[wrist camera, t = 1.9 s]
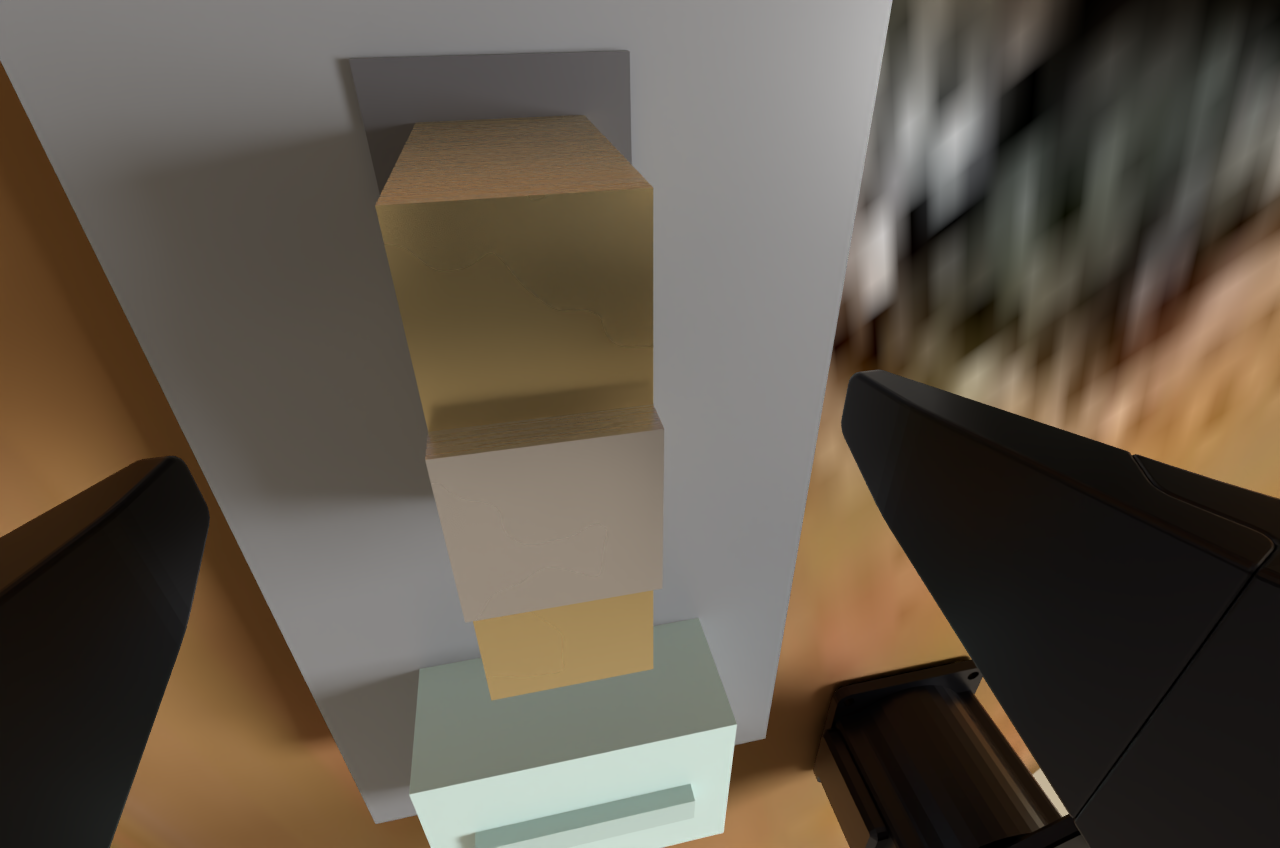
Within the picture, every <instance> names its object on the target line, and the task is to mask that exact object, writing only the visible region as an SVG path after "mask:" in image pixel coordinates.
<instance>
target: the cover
mask: <svg viewBox="0 0 1280 848" xmlns="http://www.w3.org/2000/svg"><path fill="white" fill-rule="evenodd" d="M736 729H737V723H736V720H735V717H734V714H733V712H732V709H731V706H730V703H729V701H728V698H727V695H726V692H725V690H724V687H723V684H722V681H721V678H720V676H719V673H718V670H717V667H716V665H715V662H714V659H713V656H712V654H711V651H710V648H709V645H708V642H707V640H706V637H705V634H704V631H703V629H702V626H701V623H700V620H699V618H696V619H690V620H685V621H679V622H674V623H668V624H663V625H657V626H653V669H651V670H646V671H641V672H636V673H631V674H626V675H620V676H615V677H610V678H605V679H600V680H595V681H590V682H584V683H579V684H574V685H569V686H564V687H559V688H554V689H549V690H543V691H538V692H533V693H528V694H523V695H518V696H513V697H507V698H502V699H497V700H492V701H491V696H490V692H489V688H488V684H487V679H486V675H485V671H484V667H483V662H482V658H477V659H472V660H466V661H461V662H455V663H450V664H444V665H439V666H433V667H428V668H422V669H420V671H419V683H418V694H417V706H416V718H415V730H414V742H413V754H412V766H411V778H410V790H409V796H410V798H411V800H412V803H413V805H414V808H415V810H416V813H417V815H418V817H419V820H420V822H421V825H422V827H423V830H424V832H425V834H426V837H427V839H428V842H429V844H430V847H431V848H662V847H666V846H670V845H675V844H679V843H683V842H687V841H691V840H695V839H699V838H703V837H707V836H712V835H716V834H720V833H723V832H724V824H725V816H726V808H727V800H728V792H729V784H730V776H731V768H732V761H733V753H734V745H735V737H736Z"/></svg>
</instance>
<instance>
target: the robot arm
mask: <svg viewBox="0 0 1280 848" xmlns="http://www.w3.org/2000/svg"><path fill="white" fill-rule="evenodd" d="M841 426H842V432H843V435H844V438H845V440H846V442H847V444H848V446H849V448H850V451H851V453H852V455H853V457H854V459H855V461H856V463H857V465H858V467H859V469H860V471H861V473H862V476H863V478H864V480H865V482H866V484H867V486H868V488H869V490H870V492H871V494H872V496H873V498H874V501H875V503H876V505H877V506H878V508H879V510H880V512H881V514H882V516H883V518H884V519H885V521H886V523H887V524H888V526H889V528H890V530H891V531H892V533H893V534H894V536H895V538H896V539H897V541H898V542H899V544H900V546H901V547H902V549H903V550H904V552H905V553H906V555H907V557H908V558H909V560H910V561H911V563H912V565H913V566H914V568H915V569H916V571H917V573H918V574H919V576H920V577H921V579H922V581H923V582H924V584H925V585H926V587H927V588H928V590H929V592H930V593H931V595H932V596H933V598H934V600H935V601H936V603H937V604H938V606H939V608H940V609H941V611H942V612H943V614H944V616H945V617H946V619H947V620H948V622H949V623H950V625H951V627H952V628H953V630H954V631H955V633H956V635H957V636H958V638H959V639H960V641H961V643H962V644H963V646H964V647H965V649H966V651H967V652H968V654H969V655H970V657H971V658H972V660H967V661H962V662H957V663H953V664H948V665H943V666H938V667H934V668H929V669H924V670H919V671H915V672H910V673H905V674H900V675H895V676H891V677H886V678H881V679H876V680H872V681H867V682H862V683H857V684H853V685H848V686H844V687H841V688H840V689H838V690H837V691H836V692H834V694H833V696H832V700H831V704H830V707H829V711H828V715H827V719H826V723H825V727H824V731H823V734H822V738H821V742H820V746H819V750H818V754H817V757H816V761H815V765H814V769H813V771H814V774H815V776H816V779H817V781H818V782H821V783H822V786H823V788H824V790H825V792H826V795H827V797H828V799H829V801H830V804H831V806H832V808H833V810H834V813H835V815H836V817H837V819H838V822H839V824H840V826H841V829H842V831H843V833H844V835H845V838H846V840H847V842H848V844H849V847H850V848H1280V499H1279V498H1275V497H1272V496H1268V495H1265V494H1262V493H1258V492H1255V491H1252V490H1248V489H1245V488H1241V487H1238V486H1235V485H1231V484H1228V483H1225V482H1221V481H1218V480H1215V479H1212V478H1209V477H1205V476H1202V475H1199V474H1196V473H1193V472H1190V471H1187V470H1183V469H1180V468H1177V467H1174V466H1171V465H1168V464H1165V463H1162V462H1159V461H1156V460H1153V459H1150V458H1147V457H1144V456H1141V455H1137V454H1135V455H1131V454H1130V453H1129V452H1128V451H1125V450H1122V449H1119V448H1116V447H1113V446H1110V445H1107V444H1104V443H1101V442H1098V441H1095V440H1092V439H1089V438H1086V437H1083V436H1080V435H1077V434H1074V433H1071V432H1068V431H1065V430H1062V429H1059V428H1056V427H1052V426H1049V425H1046V424H1043V423H1040V422H1037V421H1034V420H1031V419H1028V418H1025V417H1022V416H1019V415H1016V414H1013V413H1010V412H1007V411H1004V410H1001V409H998V408H995V407H992V406H989V405H986V404H983V403H980V402H977V401H974V400H971V399H968V398H965V397H962V396H959V395H956V394H953V393H950V392H947V391H944V390H941V389H938V388H935V387H932V386H929V385H926V384H923V383H919V382H916V381H913V380H910V379H907V378H904V377H901V376H898V375H895V374H892V373H889V372H886V371H883V370H872V371H864V372H857V373H855V374H854V375H853V376H852V377H851V378H850V380H849V384H848V389H847V394H846V399H845V404H844V409H843V415H842V421H841ZM209 520H210V517H209V511H208V507H207V504H206V502H205V500H204V498H203V496H202V494H201V492H200V490H199V488H198V486H197V484H196V483H195V481H194V479H193V477H192V475H191V473H190V471H189V469H188V467H187V465H186V464H185V462H184V461H183V460H182V459H180V458H178V457H176V456H164V457H156V458H148V459H142V460H138V461H136V462H134V463H132V464H130V465H129V466H127V467H125V468H123V469H122V470H120V471H118V472H116V473H114V474H113V475H111V476H109V477H107V478H106V479H104V480H102V481H100V482H98V483H97V484H95V485H93V486H91V487H90V488H88V489H86V490H84V491H83V492H81V493H79V494H77V495H75V496H74V497H72V498H70V499H68V500H67V501H65V502H63V503H61V504H59V505H58V506H56V507H54V508H52V509H51V510H49V511H47V512H45V513H43V514H42V515H40V516H38V517H36V518H35V519H33V520H31V521H29V522H27V523H26V524H24V525H22V526H20V527H19V528H17V529H15V530H13V531H11V532H10V533H8V534H6V535H4V536H3V537H1V538H0V848H110V846H111V843H112V840H113V837H114V834H115V831H116V829H117V826H118V823H119V820H120V817H121V814H122V812H123V809H124V806H125V803H126V800H127V797H128V794H129V792H130V789H131V786H132V783H133V780H134V777H135V775H136V772H137V769H138V766H139V763H140V760H141V758H142V755H143V752H144V749H145V746H146V743H147V740H148V738H149V735H150V732H151V729H152V726H153V723H154V721H155V718H156V715H157V712H158V709H159V706H160V703H161V701H162V698H163V695H164V692H165V689H166V686H167V684H168V681H169V678H170V675H171V672H172V669H173V667H174V664H175V661H176V658H177V655H178V652H179V649H180V646H181V643H182V640H183V637H184V634H185V631H186V627H187V624H188V620H189V616H190V612H191V607H192V603H193V598H194V593H195V589H196V584H197V579H198V575H199V570H200V565H201V561H202V556H203V552H204V547H205V542H206V538H207V533H208V528H209ZM982 677H983V678H984V679H985V681H986V682H987V684H988V686H989V687H990V689H991V690H992V692H993V693H994V695H995V697H996V698H997V700H998V701H999V703H1000V705H1001V706H1002V708H1003V709H1004V711H1005V713H1006V714H1007V716H1008V717H1009V719H1010V721H1011V722H1012V724H1013V725H1014V727H1015V729H1016V730H1017V732H1018V733H1019V735H1020V736H1021V738H1022V740H1023V741H1024V743H1025V744H1026V746H1027V748H1028V749H1029V751H1030V752H1031V754H1032V756H1033V757H1034V759H1035V760H1036V762H1037V764H1038V765H1039V767H1040V768H1041V770H1042V771H1043V773H1044V774H1045V776H1046V778H1047V779H1048V781H1049V783H1050V784H1051V786H1052V787H1053V789H1054V791H1055V792H1056V794H1057V795H1058V797H1059V799H1060V800H1061V802H1062V803H1063V805H1064V806H1065V808H1066V810H1067V811H1068V813H1069V814H1068V815H1066V816H1064V817H1062V816H1061V814H1060V813H1059V812H1058V810H1057V809H1056V807H1055V806H1054V805H1053V803H1052V802H1051V801H1050V799H1049V798H1048V796H1047V795H1046V794H1045V792H1044V791H1043V790H1042V788H1041V787H1040V785H1039V784H1038V782H1037V781H1036V780H1035V778H1034V777H1033V775H1032V774H1031V773H1030V771H1029V770H1028V768H1027V767H1026V766H1025V764H1024V763H1023V761H1022V760H1021V759H1020V757H1019V756H1018V755H1017V753H1016V752H1015V750H1014V749H1013V748H1012V746H1011V745H1010V743H1009V742H1008V741H1007V739H1006V738H1005V736H1004V735H1003V734H1002V732H1001V731H1000V729H999V728H998V727H997V725H996V724H995V723H994V721H993V720H992V718H991V717H990V716H989V714H988V713H987V711H986V710H985V709H984V707H983V706H982V704H981V703H980V702H979V700H978V699H977V698H976V696H975V695H974V694H975V692H976V690H977V688H978V686H979V683H980V681H981V679H982Z"/></svg>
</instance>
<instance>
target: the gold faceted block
mask: <svg viewBox="0 0 1280 848" xmlns="http://www.w3.org/2000/svg"><path fill="white" fill-rule="evenodd" d="M375 207H376V212H377V216H378V220H379V224H380V229H381V233H382V237H383V241H384V246H385V250H386V254H387V258H388V263H389V267H390V271H391V276H392V280H393V284H394V288H395V293H396V297H397V301H398V305H399V310H400V314H401V318H402V322H403V327H404V331H405V335H406V339H407V344H408V348H409V352H410V356H411V361H412V365H413V369H414V373H415V378H416V382H417V386H418V390H419V395H420V399H421V403H422V407H423V412H424V416H425V420H426V424H427V429H428V439H427V448H426V457H425V461H426V465H427V469H428V473H429V478H430V482H431V486H432V490H433V494H434V498H435V502H436V506H437V510H438V514H439V518H440V522H441V526H442V530H443V535H444V539H445V543H446V547H447V551H448V555H449V559H450V563H451V567H452V571H453V575H454V579H455V583H456V587H457V592H458V596H459V600H460V604H461V608H462V612H463V616H464V620H465V623H466V622H472V621H473V624H474V628H475V633H476V637H477V641H478V645H479V650H480V654H481V658H482V662H483V667H484V671H485V675H486V679H487V684H488V688H489V692H490V696H491V701H492V700H497V699H502V698H507V697H513V696H518V695H523V694H528V693H533V692H538V691H543V690H549V689H554V688H559V687H564V686H569V685H574V684H579V683H584V682H590V681H595V680H600V679H605V678H610V677H615V676H620V675H626V674H631V673H636V672H641V671H646V670H651V669H653V590H657V589H662V581H663V494H664V427H663V425H662V423H661V420H660V418H659V416H658V414H657V411H656V409H655V407H654V404H653V187H652V186H651V185H650V184H649V183H648V181H647V180H646V179H645V178H644V177H643V176H642V175H641V174H640V173H639V172H638V171H637V170H636V169H635V168H634V167H633V166H632V165H631V164H630V163H629V162H628V160H627V159H626V158H625V157H624V156H623V155H622V154H621V153H620V152H619V151H618V150H617V149H616V148H615V147H614V146H613V145H612V144H611V143H610V142H609V140H608V139H607V138H606V137H605V136H604V135H603V134H602V133H601V132H600V131H599V130H598V129H597V128H596V127H595V126H594V125H593V124H592V123H591V122H590V121H589V119H588V118H587V117H586V116H585V115H575V116H553V117H530V118H508V119H485V120H463V121H440V122H418V123H415V125H414V127H413V129H412V131H411V133H410V136H409V138H408V140H407V142H406V144H405V146H404V148H403V150H402V152H401V154H400V156H399V158H398V160H397V162H396V164H395V166H394V168H393V170H392V172H391V174H390V176H389V178H388V180H387V182H386V184H385V186H384V188H383V191H382V193H381V195H380V197H379V199H378V201H377V203H376V205H375Z"/></svg>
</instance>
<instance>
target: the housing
mask: <svg viewBox="0 0 1280 848" xmlns="http://www.w3.org/2000/svg"><path fill="white" fill-rule="evenodd" d="M891 6H892V0H0V61H1V63H2V65H3V67H4V69H5V71H6V73H7V75H8V77H9V79H10V81H11V83H12V85H13V87H14V89H15V91H16V93H17V95H18V97H19V99H20V102H21V104H22V106H23V108H24V110H25V112H26V114H27V116H28V118H29V120H30V122H31V124H32V126H33V128H34V130H35V132H36V134H37V136H38V138H39V140H40V142H41V144H42V146H43V148H44V150H45V152H46V154H47V156H48V158H49V161H50V163H51V165H52V167H53V169H54V171H55V173H56V175H57V177H58V179H59V181H60V183H61V185H62V187H63V189H64V191H65V193H66V195H67V197H68V199H69V201H70V203H71V205H72V207H73V209H74V211H75V213H76V215H77V217H78V219H79V222H80V224H81V226H82V228H83V230H84V232H85V234H86V236H87V238H88V240H89V242H90V244H91V246H92V248H93V250H94V252H95V254H96V256H97V258H98V260H99V262H100V264H101V266H102V268H103V270H104V272H105V274H106V276H107V278H108V281H109V283H110V285H111V287H112V289H113V291H114V293H115V295H116V297H117V299H118V301H119V303H120V305H121V307H122V309H123V311H124V313H125V315H126V317H127V319H128V321H129V323H130V325H131V327H132V329H133V331H134V333H135V335H136V337H137V339H138V342H139V344H140V346H141V348H142V350H143V352H144V354H145V356H146V358H147V360H148V362H149V364H150V366H151V368H152V370H153V372H154V374H155V376H156V378H157V380H158V382H159V384H160V386H161V388H162V390H163V392H164V394H165V396H166V398H167V401H168V403H169V405H170V407H171V409H172V411H173V413H174V415H175V417H176V419H177V421H178V423H179V425H180V427H181V429H182V431H183V433H184V435H185V437H186V439H187V441H188V443H189V445H190V447H191V449H192V451H193V453H194V455H195V457H196V459H197V462H198V464H199V466H200V468H201V470H202V472H203V474H204V476H205V478H206V480H207V482H208V484H209V486H210V488H211V490H212V492H213V494H214V496H215V498H216V500H217V502H218V504H219V506H220V508H221V510H222V512H223V514H224V516H225V518H226V521H227V523H228V525H229V527H230V529H231V531H232V533H233V535H234V537H235V539H236V541H237V543H238V545H239V547H240V549H241V551H242V553H243V555H244V557H245V559H246V561H247V563H248V565H249V567H250V569H251V571H252V573H253V575H254V577H255V580H256V582H257V584H258V586H259V588H260V590H261V592H262V594H263V596H264V598H265V600H266V602H267V604H268V606H269V608H270V610H271V612H272V614H273V616H274V618H275V620H276V622H277V624H278V626H279V628H280V630H281V632H282V634H283V636H284V638H285V641H286V643H287V645H288V647H289V649H290V651H291V653H292V655H293V657H294V659H295V661H296V663H297V665H298V667H299V669H300V671H301V673H302V675H303V677H304V679H305V681H306V683H307V685H308V687H309V689H310V691H311V693H312V695H313V697H314V700H315V702H316V704H317V706H318V708H319V710H320V712H321V714H322V716H323V718H324V720H325V722H326V724H327V726H328V728H329V730H330V732H331V734H332V736H333V738H334V740H335V742H336V744H337V746H338V748H339V750H340V752H341V754H342V756H343V758H344V761H345V763H346V765H347V767H348V769H349V771H350V773H351V775H352V777H353V779H354V781H355V783H356V785H357V787H358V789H359V791H360V793H361V795H362V797H363V799H364V801H365V803H366V805H367V807H368V809H369V811H370V813H371V815H372V817H373V820H374V822H375V824H378V823H383V822H387V821H392V820H396V819H401V818H406V817H410V816H415V815H417V813H416V810H415V808H414V805H413V803H412V800H411V798H410V796H409V790H410V778H411V766H412V754H413V742H414V730H415V718H416V706H417V694H418V683H419V671H420V669H422V668H428V667H433V666H439V665H444V664H450V663H455V662H461V661H466V660H472V659H477V658H481V654H480V650H479V645H478V641H477V637H476V633H475V628H474V624H473V621H472V622H466V623H465V620H464V616H463V612H462V608H461V604H460V600H459V596H458V592H457V587H456V583H455V579H454V575H453V571H452V567H451V563H450V559H449V555H448V551H447V547H446V543H445V539H444V535H443V530H442V526H441V522H440V518H439V514H438V510H437V506H436V502H435V498H434V494H433V490H432V486H431V482H430V478H429V473H428V469H427V465H426V461H425V457H426V448H427V439H428V429H427V424H426V420H425V416H424V412H423V407H422V403H421V399H420V395H419V390H418V386H417V382H416V378H415V373H414V369H413V365H412V361H411V356H410V352H409V348H408V344H407V339H406V335H405V331H404V327H403V322H402V318H401V314H400V310H399V305H398V301H397V297H396V293H395V288H394V284H393V280H392V276H391V271H390V267H389V263H388V258H387V254H386V250H385V246H384V241H383V237H382V233H381V229H380V224H379V220H378V216H377V212H376V207H375V205H376V203H377V201H378V199H379V197H380V195H381V193H382V191H383V188H384V186H385V184H386V182H387V180H388V178H389V176H390V174H391V172H392V170H393V168H394V166H395V164H396V162H397V160H398V158H399V156H400V154H401V152H402V150H403V148H404V146H405V144H406V142H407V140H408V138H409V136H410V133H411V131H412V129H413V127H414V125H415V123H418V122H440V121H463V120H485V119H508V118H530V117H553V116H575V115H585V116H586V117H587V118H588V119H589V121H590V122H591V123H592V124H593V125H594V126H595V127H596V128H597V129H598V130H599V131H600V132H601V133H602V134H603V135H604V136H605V137H606V138H607V139H608V140H609V142H610V143H611V144H612V145H613V146H614V147H615V148H616V149H617V150H618V151H619V152H620V153H621V154H622V155H623V156H624V157H625V158H626V159H627V160H628V162H629V163H630V164H631V165H632V166H633V167H634V168H635V169H636V170H637V171H638V172H639V173H640V174H641V175H642V176H643V177H644V178H645V179H646V180H647V181H648V183H649V184H650V185H651V186H652V187H653V404H654V407H655V409H656V411H657V414H658V416H659V418H660V420H661V423H662V425H663V427H664V494H663V581H662V589H657V590H653V626H657V625H663V624H668V623H674V622H679V621H685V620H690V619H696V618H699V620H700V623H701V626H702V629H703V631H704V634H705V637H706V640H707V642H708V645H709V648H710V651H711V654H712V656H713V659H714V662H715V665H716V667H717V670H718V673H719V676H720V678H721V681H722V684H723V687H724V690H725V692H726V695H727V698H728V701H729V703H730V706H731V709H732V712H733V714H734V717H735V720H736V723H737V729H736V737H735V745H738V744H742V743H747V742H751V741H756V740H760V739H765V737H766V732H767V726H768V720H769V714H770V708H771V703H772V697H773V691H774V685H775V679H776V674H777V668H778V662H779V656H780V650H781V645H782V639H783V633H784V627H785V621H786V616H787V610H788V604H789V598H790V592H791V587H792V581H793V575H794V569H795V563H796V558H797V552H798V546H799V540H800V534H801V529H802V523H803V517H804V511H805V505H806V500H807V494H808V488H809V482H810V476H811V470H812V465H813V459H814V453H815V447H816V441H817V436H818V430H819V424H820V418H821V412H822V407H823V401H824V395H825V389H826V383H827V378H828V372H829V366H830V360H831V354H832V349H833V343H834V337H835V331H836V325H837V320H838V314H839V308H840V302H841V296H842V291H843V285H844V279H845V273H846V267H847V262H848V256H849V250H850V244H851V238H852V233H853V227H854V221H855V215H856V209H857V204H858V198H859V192H860V186H861V180H862V175H863V169H864V163H865V157H866V151H867V145H868V140H869V134H870V128H871V122H872V116H873V111H874V105H875V99H876V93H877V87H878V82H879V76H880V70H881V64H882V58H883V53H884V47H885V41H886V35H887V29H888V24H889V18H890V12H891Z"/></svg>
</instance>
